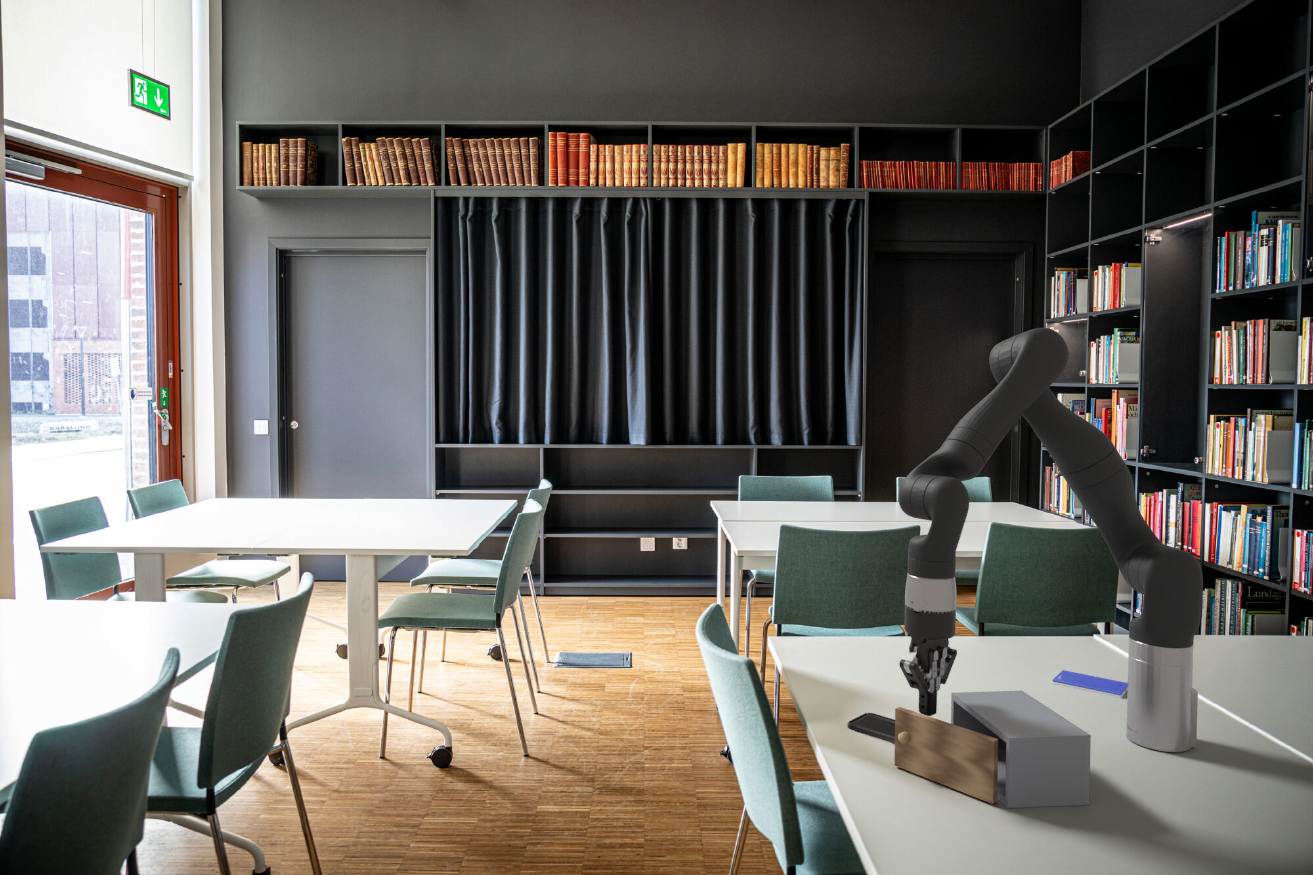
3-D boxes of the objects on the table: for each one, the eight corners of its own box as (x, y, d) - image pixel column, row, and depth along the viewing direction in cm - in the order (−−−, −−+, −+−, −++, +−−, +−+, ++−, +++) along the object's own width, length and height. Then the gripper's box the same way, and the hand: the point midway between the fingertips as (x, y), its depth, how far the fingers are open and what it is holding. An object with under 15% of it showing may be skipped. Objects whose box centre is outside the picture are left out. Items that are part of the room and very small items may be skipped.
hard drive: (1052, 679, 164) (1121, 693, 156) (1063, 669, 171) (1129, 682, 163) (1052, 686, 165) (1121, 701, 157) (1062, 676, 171) (1129, 689, 163)
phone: (868, 711, 147) (946, 735, 137) (868, 717, 147) (946, 741, 137) (844, 723, 142) (924, 749, 131) (844, 729, 142) (924, 755, 131)
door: (997, 801, 115) (998, 739, 114) (989, 806, 113) (990, 743, 113) (898, 763, 127) (899, 706, 127) (890, 767, 126) (891, 710, 125)
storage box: (1020, 750, 132) (1022, 690, 132) (1089, 804, 115) (1090, 735, 114) (950, 753, 131) (951, 692, 131) (1008, 808, 114) (1009, 738, 113)
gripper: (932, 593, 132) (929, 697, 133) (884, 605, 124) (881, 716, 124) (975, 602, 126) (972, 711, 127) (928, 615, 118) (925, 732, 119)
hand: (927, 713), depth 126 cm, fingers closed
